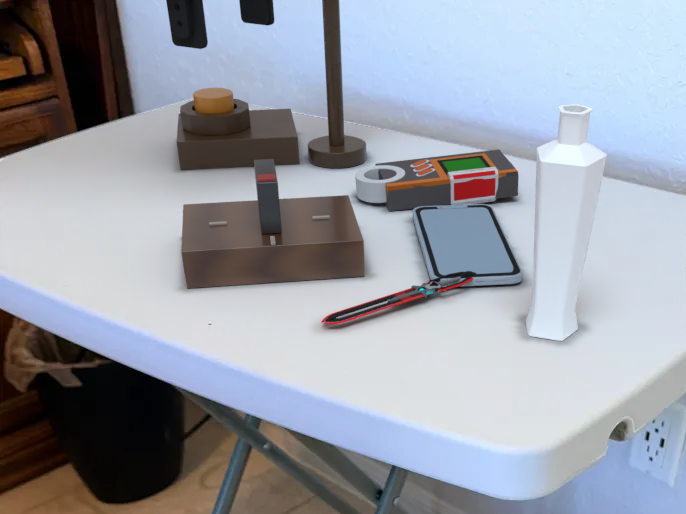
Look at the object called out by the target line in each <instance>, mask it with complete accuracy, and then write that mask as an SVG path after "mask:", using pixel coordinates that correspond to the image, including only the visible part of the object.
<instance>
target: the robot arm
mask: <svg viewBox="0 0 686 514" xmlns="http://www.w3.org/2000/svg"><path fill="white" fill-rule="evenodd" d="M238 1H239V11H240V19H241V21H242V23H245V24H250V25H251V24H253V25H261V26H271V25H274V24H275V11H274V0H238ZM165 2H166V8H167V16H168V21H169V28H170V35H171V40H172V43H173V45H174V46H176V47H183V48H191V49H197V50H202V49H205V48H207V47H208V43H209V41H208V33H207V25H206V19H205V18H206V17H205V16H206V15H205V9H204V2H203V0H165Z"/></svg>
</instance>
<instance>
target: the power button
mask: <svg viewBox="0 0 686 514" xmlns="http://www.w3.org/2000/svg"><path fill="white" fill-rule="evenodd" d="M192 98H193V101H194V106H195V111H196V112H199V113H207V114H212V113H224V112H229V111H232V110H234V109H235V108H234V99H235V98H234V92H233V91H232V90H231V89H228V88H224V87H206V88H201V89H197V90H195V91H194V92H193V93H192Z"/></svg>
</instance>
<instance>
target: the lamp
mask: <svg viewBox="0 0 686 514" xmlns="http://www.w3.org/2000/svg"><path fill="white" fill-rule="evenodd" d="M321 4H322V6H321V7H322V24H323V25H322V26H323V45H324V68H325V69H324V70H325V84H326V85H325V86H326V87H325V90H326V108H327V109H326V111H327V131H328V135H324V136H319V137H315V138H313V139H311V140H310V141H308V143H307V156H308V162H310V164H312V165H313V166H317V167H320V168H327V169H346V168H353V167H356V166H359V165H361V164H363V163H365V161H366V160H367V143H366V141H365V140H364V139H362V138H360V137H357V136H353V135H345V118H344V117H345V116H344V92H343V91H344V90H343V89H344V88H343V62H342V40H341V39H342V38H341V37H342V35H341V13H340V12H341V10H340V0H321Z"/></svg>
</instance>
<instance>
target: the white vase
mask: <svg viewBox="0 0 686 514" xmlns="http://www.w3.org/2000/svg"><path fill="white" fill-rule="evenodd" d="M593 110H594V109H593V108H592V107H590V106H586V105H583V104H579V103H572V104H561V105H558V111H559V117H558V127H557V128H558V130H557V137H556V139H553V140H550V141H547V142H546V143H544V144H542V145H539V146H537V147H536V159H535V161H536V162H535V163H536V164H535V195H534V197H535V199H534V225H533V226H534V227H533V228H534V231H533V261H532V262H533V266H532V292H531V293H532V294H531V295H532V297H531V298H532V299H531V300H532V302H531V305H530V308H529V310H528V313H527V316H526V318H525V326H526V331H527V335H528V336H529V337H533V338H539V339H546V340H552V341H557V342H558V341H559V342H562V341H565V340H566V339H567V338H569V337H570V336H571V335H573V334H574V333H575V332H576V331H578V329H579V325H578V318H577V311H576V308H577V303H578V298H579V293H580V292H579V291H580V288H581V283H582V279H583V273H584V269H585V263H586V258H587V253H588V250H589V245H590V239H591V235H592V230H593V225H594V220H595V215H596V210H597V205H598V202H599V196H600V191H601V186H602V181H603V178H604V177H603V176H604V173H605V167H606V162H607V158H608V154H607V153H606V152H604V151H603V150H601V149H599V148H598V147H597V146H595V145H593V143H591V142H589V141H588V132H589V124H590V117H591V113H592V112H593Z"/></svg>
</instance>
